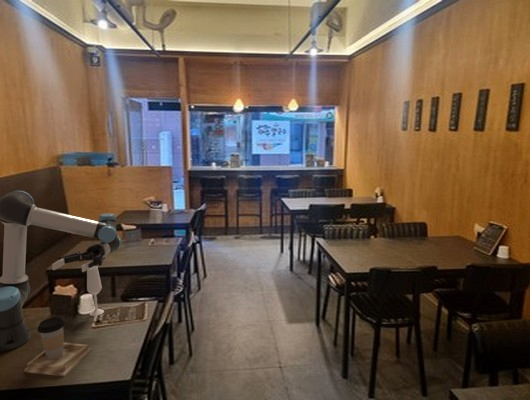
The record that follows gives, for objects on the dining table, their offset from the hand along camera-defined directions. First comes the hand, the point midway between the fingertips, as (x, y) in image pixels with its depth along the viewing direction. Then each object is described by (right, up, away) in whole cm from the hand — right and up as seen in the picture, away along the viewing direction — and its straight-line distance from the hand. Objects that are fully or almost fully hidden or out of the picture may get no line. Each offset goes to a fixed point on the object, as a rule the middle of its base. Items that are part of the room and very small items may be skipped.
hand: (67, 267), depth 156 cm
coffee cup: (-3, -35, -3) cm, 36 cm away
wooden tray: (-1, -37, -5) cm, 37 cm away
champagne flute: (-3, -29, +34) cm, 45 cm away
